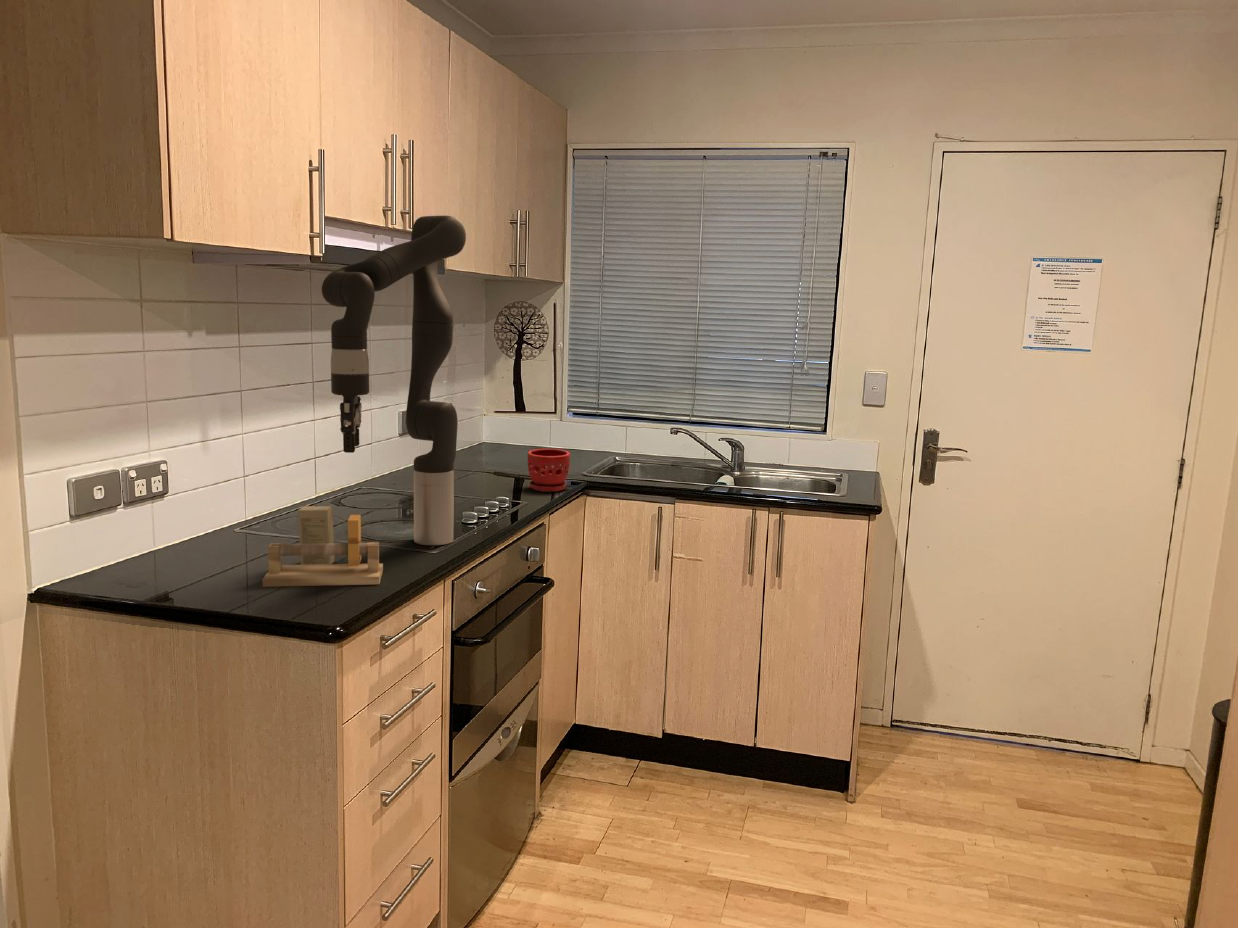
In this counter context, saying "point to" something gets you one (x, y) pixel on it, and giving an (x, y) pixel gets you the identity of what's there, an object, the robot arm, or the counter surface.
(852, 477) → the counter surface
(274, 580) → the pipe rig
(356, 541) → the orange block
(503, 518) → the counter surface
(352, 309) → the robot arm
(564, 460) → the plant pot
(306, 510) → the skincare box
